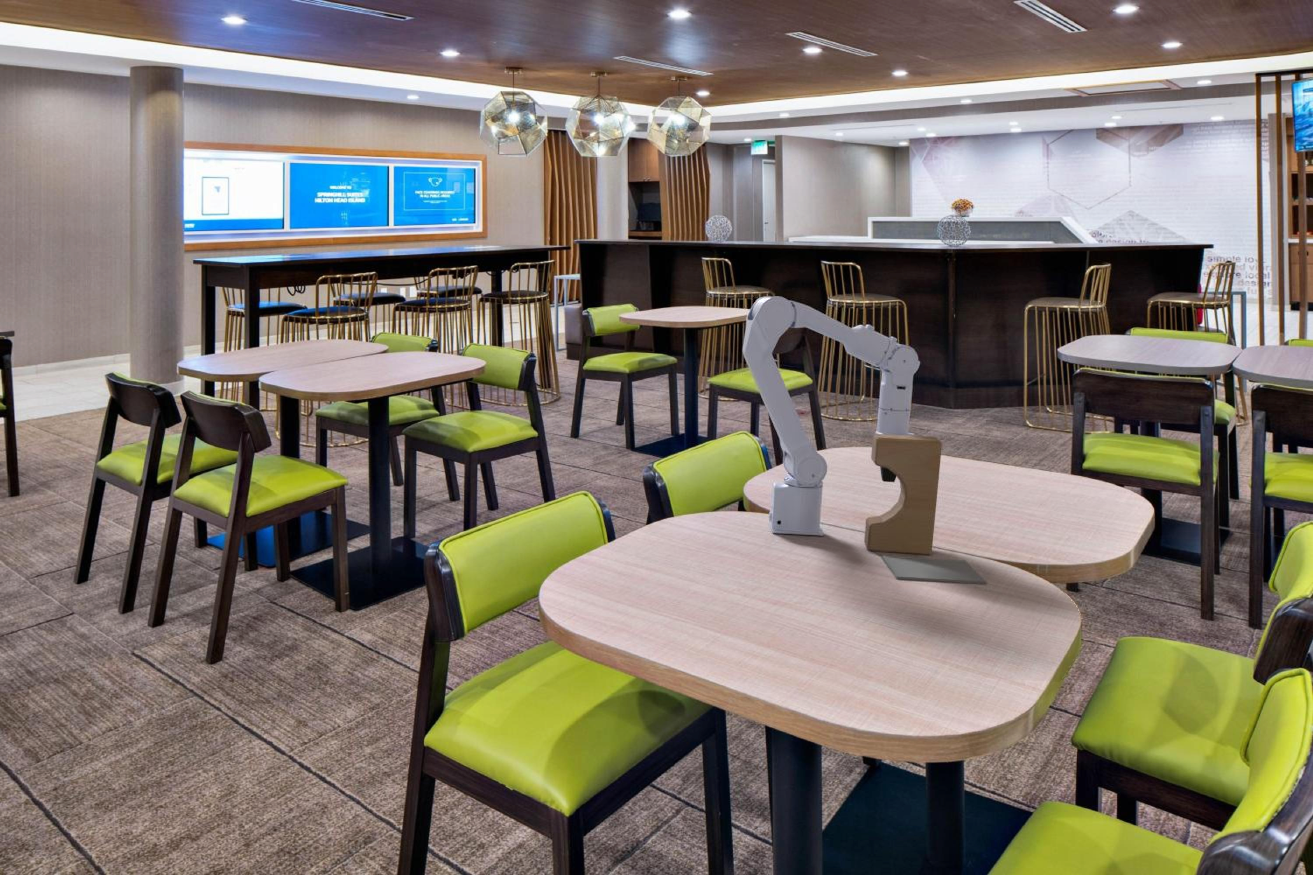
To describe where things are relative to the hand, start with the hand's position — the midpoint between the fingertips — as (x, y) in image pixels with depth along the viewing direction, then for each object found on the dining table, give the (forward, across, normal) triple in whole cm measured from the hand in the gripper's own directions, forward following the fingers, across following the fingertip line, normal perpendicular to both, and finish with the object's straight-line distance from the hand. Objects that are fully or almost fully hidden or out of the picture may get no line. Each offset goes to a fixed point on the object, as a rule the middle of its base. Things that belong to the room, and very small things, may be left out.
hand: (888, 481), depth 177 cm
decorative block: (+10, -12, 0) cm, 16 cm away
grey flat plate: (+10, -24, -3) cm, 26 cm away
